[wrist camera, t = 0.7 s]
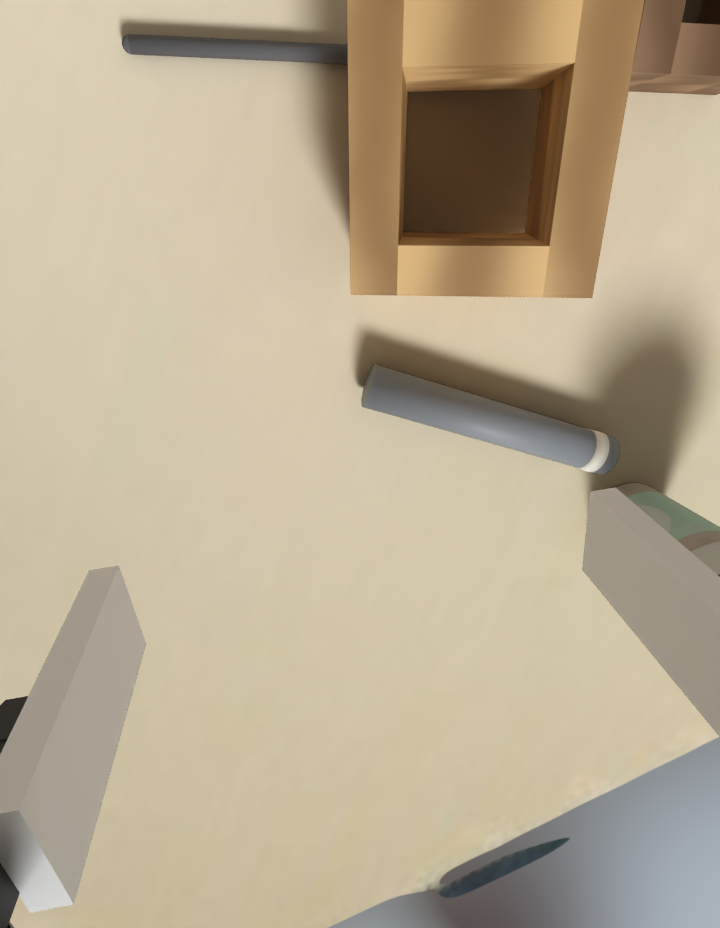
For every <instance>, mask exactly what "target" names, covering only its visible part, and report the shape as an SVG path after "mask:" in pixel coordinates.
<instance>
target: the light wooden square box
mask: <svg viewBox="0 0 720 928" xmlns="http://www.w3.org/2000/svg"><path fill="white" fill-rule="evenodd" d="M643 5H644V0H347V40H348V122H349V204H350V286H351V295H414V296H485V297H557V298H592V296H593V290H594V284H595V278H596V273H597V267H598V261H599V256H600V250H601V244H602V239H603V233H604V227H605V221H606V216H607V210H608V204H609V199H610V193H611V187H612V182H613V176H614V170H615V164H616V159H617V153H618V147H619V142H620V136H621V130H622V124H623V119H624V113H625V107H626V102H627V96H628V90H629V85H630V79H631V73H632V67H633V62H634V56H635V50H636V45H637V39H638V33H639V27H640V22H641V16H642V10H643ZM515 89H541V97H540V105H539V114H538V123H537V131H536V140H535V148H534V157H533V165H532V174H531V182H530V191H529V199H528V208H527V217H526V225H525V233H469V232H404V207H405V171H406V135H407V98H408V92H418V91H467V90H515Z"/></svg>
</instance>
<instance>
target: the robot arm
mask: <svg viewBox="0 0 720 928" xmlns="http://www.w3.org/2000/svg"><path fill="white" fill-rule="evenodd" d="M582 570H583V571H584V573H585V574H586V575H587V576H588V577H589V579H590V580H591V581H592V582H593V583H594V585H595V586H596V587H597V588H598V590H599V591H600V592H601V593H602V594H603V596H604V597H605V598H606V599H607V600H608V602H609V603H610V604H611V605H612V607H613V608H614V609H615V610H616V611H617V613H618V614H619V615H620V616H621V617H622V619H623V620H624V621H625V622H626V624H627V625H628V626H629V627H630V628H631V630H632V631H633V632H634V633H635V634H636V636H637V637H638V638H639V639H640V641H641V642H642V643H643V644H644V645H645V647H646V648H647V649H648V650H649V652H650V653H651V654H652V655H653V656H654V658H655V659H656V660H657V661H658V662H659V664H660V665H661V666H662V667H663V669H664V670H665V671H666V672H667V673H668V675H669V676H670V677H671V678H672V679H673V681H674V682H675V683H676V684H677V686H678V687H679V688H680V689H681V690H682V692H683V693H684V694H685V695H686V696H687V698H688V699H689V700H690V701H691V703H692V704H693V705H694V706H695V707H696V709H697V710H698V711H699V712H700V713H701V715H702V716H703V717H704V718H705V720H706V721H707V722H708V723H709V724H710V726H711V727H712V728H713V729H714V730H715V732H716V733H717V734H718V735H719V737H720V574H718V575H717V574H716V573H715V572H714V571H712V570H711V569H710V568H709V567H708V566H707V565H705V564H704V563H703V562H702V561H701V560H700V559H698V558H697V557H696V556H695V555H694V554H693V553H691V552H690V551H689V550H688V549H687V548H686V547H684V546H683V545H682V544H681V543H680V542H679V541H677V540H676V539H675V538H674V537H673V536H672V535H670V534H669V533H668V532H667V531H666V530H665V529H663V528H662V527H661V526H660V525H659V524H658V523H656V522H655V521H654V520H653V519H652V518H651V517H649V516H648V515H647V514H646V513H645V512H644V511H642V510H641V509H640V508H639V507H638V506H637V505H635V504H634V503H633V502H632V501H631V500H630V499H628V498H627V497H626V496H625V495H624V494H623V493H621V492H620V491H619V490H618V489H617V488H616V487H615V488H609V489H602V490H596V491H590V496H589V506H588V516H587V526H586V537H585V547H584V557H583V567H582ZM145 646H146V642H145V639H144V636H143V633H142V631H141V628H140V625H139V622H138V619H137V616H136V613H135V611H134V608H133V605H132V602H131V599H130V596H129V593H128V591H127V588H126V585H125V582H124V579H123V576H122V573H121V571H120V568H119V566H114V567H108V568H101V569H95V570H89V572H88V574H87V576H86V578H85V580H84V582H83V584H82V586H81V588H80V590H79V593H78V595H77V597H76V599H75V601H74V603H73V605H72V607H71V609H70V611H69V613H68V615H67V617H66V619H65V622H64V624H63V626H62V628H61V630H60V632H59V634H58V636H57V638H56V640H55V642H54V644H53V646H52V648H51V651H50V653H49V655H48V657H47V659H46V661H45V663H44V665H43V667H42V669H41V671H40V673H39V675H38V677H37V679H36V682H35V684H34V686H33V688H32V690H31V692H30V694H29V696H26V697H21V698H15V699H9V700H5V701H4V702H3V703H2V704H1V705H0V928H14V927H13V926H12V924H11V923H10V918H11V916H12V913H13V910H14V907H15V904H16V902H17V899H18V896H19V897H20V899H21V900H22V902H23V903H24V905H25V906H26V908H27V909H28V911H29V912H30V913H33V912H38V911H42V910H47V909H52V908H57V907H62V906H67V905H72V904H74V901H75V897H76V894H77V890H78V887H79V883H80V879H81V876H82V872H83V869H84V865H85V861H86V858H87V854H88V851H89V847H90V843H91V840H92V836H93V833H94V829H95V826H96V822H97V818H98V815H99V811H100V808H101V804H102V800H103V797H104V793H105V790H106V786H107V782H108V779H109V775H110V772H111V768H112V764H113V761H114V757H115V754H116V750H117V747H118V743H119V739H120V736H121V732H122V729H123V725H124V721H125V718H126V714H127V711H128V707H129V703H130V700H131V696H132V693H133V689H134V685H135V682H136V678H137V675H138V671H139V668H140V664H141V660H142V657H143V653H144V650H145Z"/></svg>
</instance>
